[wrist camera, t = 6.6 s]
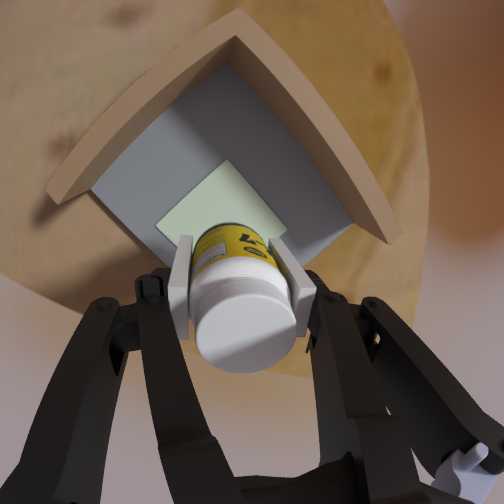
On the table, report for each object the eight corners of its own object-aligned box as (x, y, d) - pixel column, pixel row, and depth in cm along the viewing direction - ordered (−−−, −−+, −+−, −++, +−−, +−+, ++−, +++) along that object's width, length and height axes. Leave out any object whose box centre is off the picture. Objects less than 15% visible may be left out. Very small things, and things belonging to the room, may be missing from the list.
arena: (82, 175, 20) (44, 189, 14) (229, 41, 18) (239, 7, 12) (231, 318, 28) (239, 364, 22) (361, 210, 26) (402, 232, 19)
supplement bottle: (279, 258, 18) (327, 338, 11) (225, 300, 19) (239, 394, 11) (234, 204, 17) (259, 259, 9) (177, 251, 17) (158, 336, 9)
